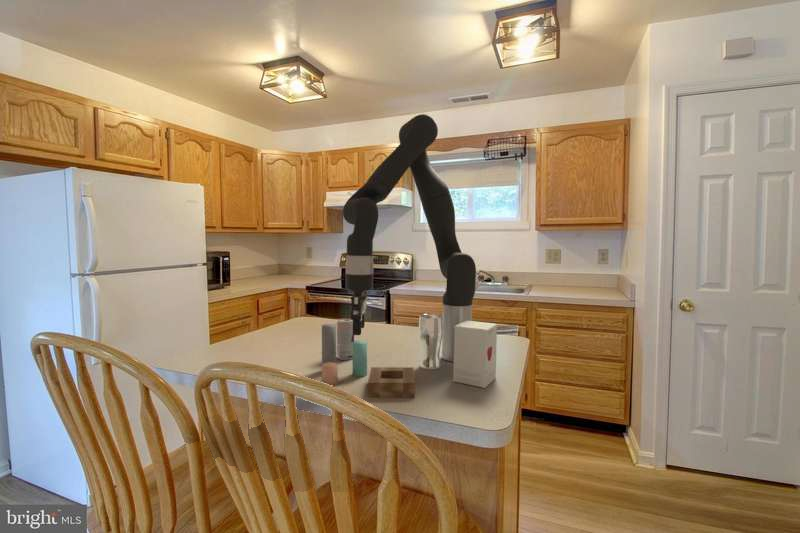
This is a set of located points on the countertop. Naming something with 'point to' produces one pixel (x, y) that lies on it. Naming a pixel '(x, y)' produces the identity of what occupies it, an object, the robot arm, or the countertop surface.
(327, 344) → the long dowel
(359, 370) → the medium dowel
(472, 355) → the supplement box
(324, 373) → the short dowel
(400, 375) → the brown wooden square frame
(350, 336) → the energy drink
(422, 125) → the robot arm
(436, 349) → the beer glass
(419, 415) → the countertop surface
